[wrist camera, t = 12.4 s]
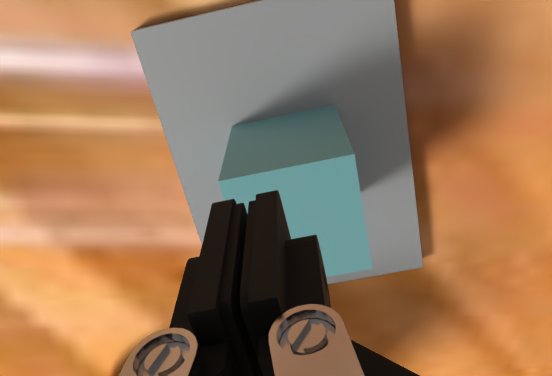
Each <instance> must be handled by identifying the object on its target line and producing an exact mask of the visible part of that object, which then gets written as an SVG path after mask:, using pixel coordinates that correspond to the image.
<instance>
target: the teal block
mask: <svg viewBox="0 0 552 376" xmlns="http://www.w3.org/2000/svg"><path fill="white" fill-rule="evenodd" d="M218 183H219V186H220V189H221V193H222V196H223V200H224V201H225V200H230V199H235V201H236V203H237V204H239V203H244V205H245V208H246V211H247V214H248V205H249V201H254V200H256V194H260V193H265V192H270V191H275V190H278V191H279V194H280V198H281V202H282V205H283V209H284V213H285V217H286V221H287V225H288V229H289V232H290V236H291V239H295V238H300V237H305V236H311V235H317V238H318V242H319V246H320V250H321V255H322V259H323V264H324V268H325V273H326V277H329V276H334V275H340V274H345V273H351V272H357V271H362V270H368V269H373V268H372V262H371V255H370V249H369V243H368V236H367V230H366V224H365V217H364V211H363V205H362V198H361V192H360V186H359V179H358V173H357V167H356V160H355V154H354V151H353V149H352V147H351V144H350V142H349V139H348V137H347V134H346V132H345V129H344V127H343V124H342V122H341V119H340V117H339V114H338V112H337V109H336V107H335V105H330V106H326V107H321V108H316V109H311V110H307V111H302V112H297V113H292V114H287V115H283V116H278V117H273V118H268V119H264V120H259V121H254V122H249V123H245V124H240V125H235V126H232V128H231V132H230V136H229V140H228V144H227V148H226V152H225V156H224V160H223V164H222V168H221V172H220V176H219V180H218Z"/></svg>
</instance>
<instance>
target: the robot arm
mask: <svg viewBox="0 0 552 376" xmlns="http://www.w3.org/2000/svg"><path fill="white" fill-rule="evenodd" d="M119 376H419V375H417V374H415V373H413V372H412V371H410V370H408V369H406V368H404V367H402V366H400V365H398V364H396V363H394V362H392V361H390V360H389V359H387V358H385V357H383V356H381V355H379V354H377V353H375V352H373V351H371V350H369V349H367V348H365V347H364V346H362V345H360V344H358V343H356V342H354V341H352V340H350V337H349V335H348V332H347V330H346V327H345V325H344V322H343V320H342V318H341V317H340V315H339V314H338V313H337V312H336V311H334V310H333V309H331V304H330V297H329V290H328V284H327V279H326V273H325V268H324V264H323V259H322V255H321V250H320V246H319V242H318V238H317V235H311V236H305V237H300V238H295V239H291V236H290V232H289V229H288V225H287V221H286V217H285V213H284V209H283V205H282V202H281V198H280V194H279V191H278V190H275V191H270V192H265V193H260V194H256V200H254V201H249V205H248V214H247V211H246V208H245V205H244V203H239V204H237V203H236V201H235V199H230V200H225V201H220V202H215V203H212V205H211V210H210V214H209V218H208V222H207V227H206V231H205V235H204V240H203V244H202V248H201V253H200V257H195V258H190V259H189V260H188V261H187V264H186V267H185V271H184V275H183V279H182V283H181V286H180V290H179V294H178V298H177V301H176V305H175V309H174V313H173V316H172V320H171V324H170V328H169V329H163V330H161V331H158V332H156V333H153V334H151V335H150V336H148V337H147V338H145V339H144V340H142V341H141V342H140V343H139V344H138V345H137V346H136V347H135V348H134V349H133V350H132V352H131V353H130V355H129V356H128V358H127V360H126V362H125V364H124V366H123V368H122V370H121V372H120V374H119Z"/></svg>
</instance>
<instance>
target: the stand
mask: <svg viewBox="0 0 552 376" xmlns="http://www.w3.org/2000/svg"><path fill="white" fill-rule="evenodd" d="M131 35H132V38H133V41H134V44H135V47H136V50H137V53H138V56H139V59H140V62H141V65H142V68H143V71H144V74H145V77H146V80H147V83H148V86H149V89H150V92H151V95H152V97H153V100H154V103H155V106H156V109H157V112H158V115H159V118H160V121H161V124H162V127H163V130H164V133H165V136H166V139H167V142H168V145H169V148H170V151H171V154H172V157H173V160H174V163H175V166H176V169H177V172H178V175H179V178H180V181H181V184H182V187H183V190H184V193H185V196H186V199H187V202H188V205H189V208H190V211H191V214H192V217H193V220H194V223H195V226H196V229H197V231H198V234H199V237H200V240H201V243H202V244H203V240H204V235H205V231H206V227H207V222H208V218H209V214H210V210H211V205H212V203H215V202H220V201H224V200H223V196H222V193H221V189H220V186H219V183H218V180H219V176H220V172H221V168H222V164H223V160H224V156H225V152H226V148H227V144H228V140H229V136H230V132H231V128H232V126H235V125H240V124H245V123H249V122H254V121H259V120H264V119H268V118H273V117H278V116H283V115H287V114H292V113H297V112H302V111H307V110H311V109H316V108H321V107H326V106H330V105H335V107H336V109H337V112H338V114H339V117H340V119H341V122H342V124H343V127H344V129H345V132H346V134H347V137H348V139H349V142H350V144H351V147H352V149H353V151H354V154H355V160H356V167H357V173H358V179H359V186H360V192H361V198H362V205H363V211H364V217H365V224H366V230H367V236H368V243H369V249H370V255H371V262H372V268H373V269H368V270H362V271H357V272H351V273H345V274H340V275H334V276H329V277H326V279H327V284H333V283H339V282H344V281H350V280H355V279H361V278H367V277H372V276H378V275H383V274H389V273H394V272H400V271H405V270H411V269H417V268H422V267H423V261H422V252H421V243H420V234H419V225H418V216H417V206H416V197H415V188H414V179H413V170H412V160H411V151H410V142H409V133H408V124H407V115H406V105H405V96H404V87H403V78H402V69H401V59H400V50H399V41H398V32H397V23H396V14H395V4H394V0H257V1H253V2H248V3H244V4H240V5H236V6H231V7H227V8H223V9H219V10H215V11H210V12H206V13H202V14H198V15H193V16H189V17H185V18H181V19H177V20H172V21H168V22H164V23H160V24H155V25H151V26H147V27H143V28H139V29H135V30H133V31H131Z"/></svg>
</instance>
